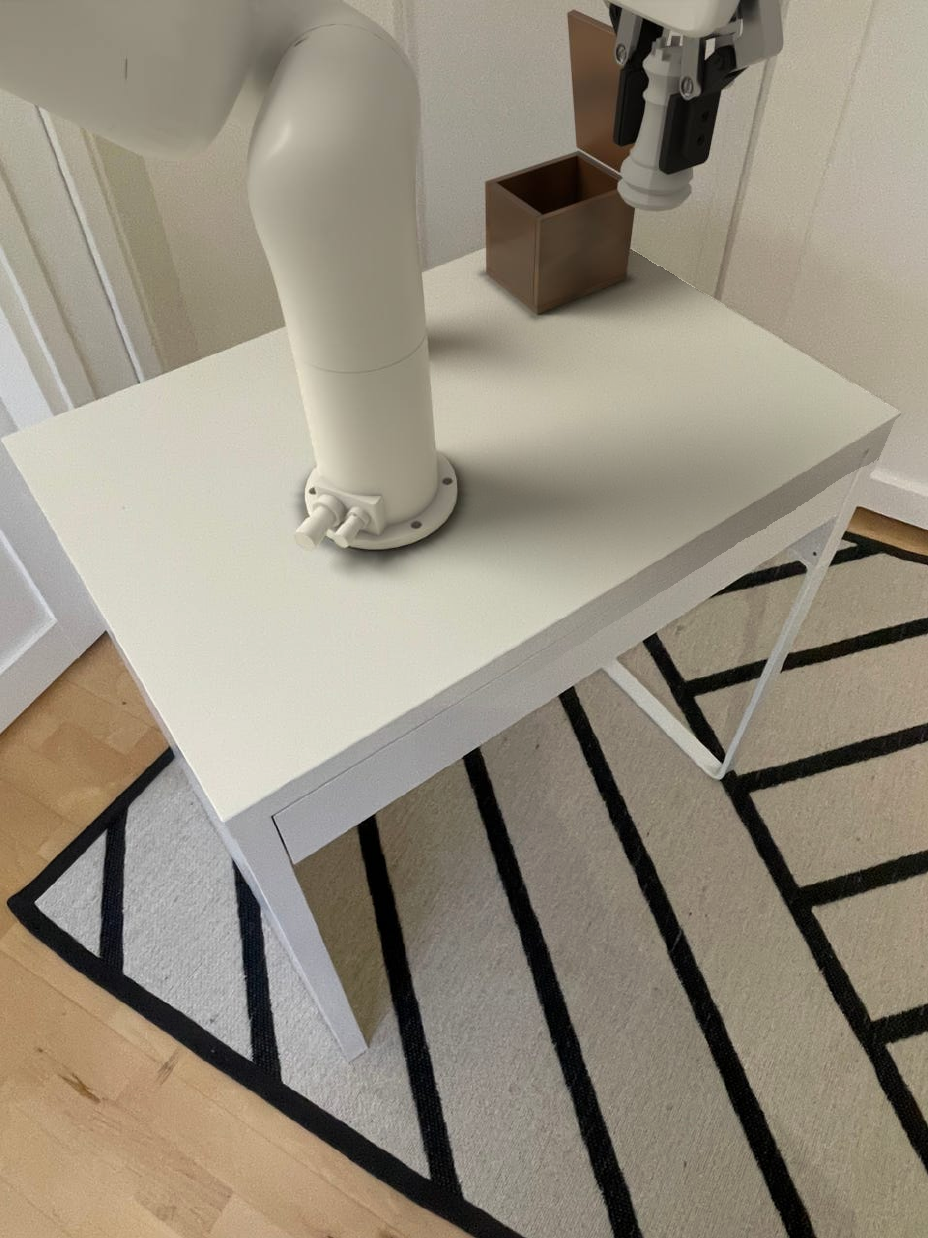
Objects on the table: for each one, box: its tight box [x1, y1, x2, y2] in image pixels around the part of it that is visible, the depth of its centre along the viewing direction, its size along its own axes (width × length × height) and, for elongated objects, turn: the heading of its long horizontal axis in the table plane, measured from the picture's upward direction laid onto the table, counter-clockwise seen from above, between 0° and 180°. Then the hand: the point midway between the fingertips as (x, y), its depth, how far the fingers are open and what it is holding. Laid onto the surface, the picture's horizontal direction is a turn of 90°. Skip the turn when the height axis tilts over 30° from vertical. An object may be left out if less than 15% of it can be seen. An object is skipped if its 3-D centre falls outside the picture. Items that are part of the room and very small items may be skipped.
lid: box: [566, 9, 635, 174], centre depth 81 cm, size 12×10×5 cm
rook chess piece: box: [617, 35, 694, 212], centre depth 48 cm, size 4×4×8 cm
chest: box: [484, 150, 636, 315], centre depth 88 cm, size 12×10×10 cm
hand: (659, 149), depth 50 cm, fingers closed on rook chess piece, 3 cm apart
